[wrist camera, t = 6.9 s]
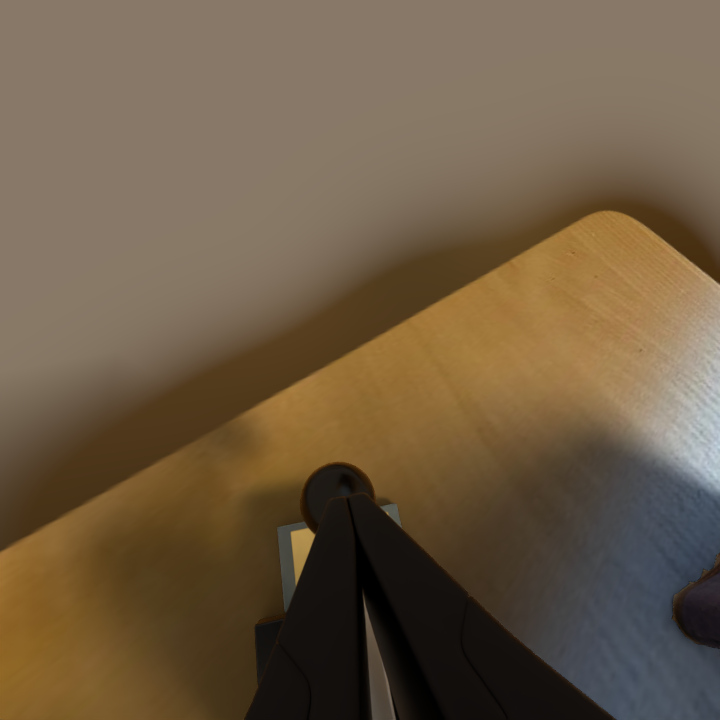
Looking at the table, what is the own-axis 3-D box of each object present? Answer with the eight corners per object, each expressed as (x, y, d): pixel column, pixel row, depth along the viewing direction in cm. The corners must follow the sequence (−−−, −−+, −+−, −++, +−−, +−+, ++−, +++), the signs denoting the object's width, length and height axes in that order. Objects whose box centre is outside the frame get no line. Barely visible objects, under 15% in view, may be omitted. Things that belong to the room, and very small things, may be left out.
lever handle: (301, 492, 17) (293, 454, 15) (367, 480, 17) (367, 441, 15) (356, 1106, 7) (351, 1235, 5) (501, 1044, 7) (548, 1141, 6)
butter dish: (278, 526, 20) (269, 526, 17) (395, 503, 20) (404, 498, 18) (285, 611, 18) (277, 624, 15) (411, 581, 19) (424, 589, 16)
